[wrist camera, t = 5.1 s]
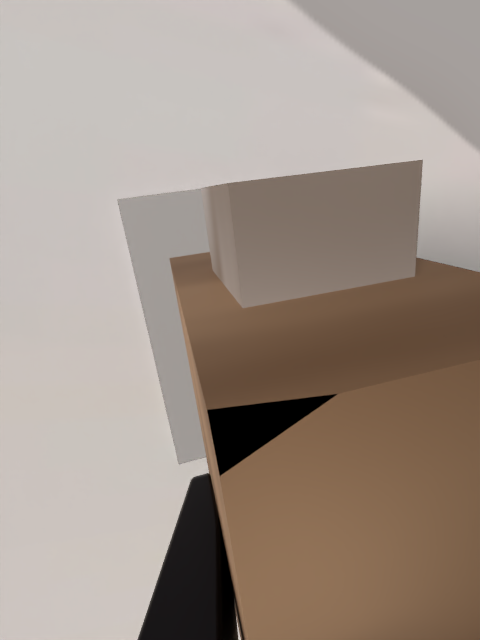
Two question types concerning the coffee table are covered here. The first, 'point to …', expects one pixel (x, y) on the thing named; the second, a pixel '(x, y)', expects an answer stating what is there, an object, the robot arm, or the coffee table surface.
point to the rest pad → (168, 298)
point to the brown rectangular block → (337, 407)
